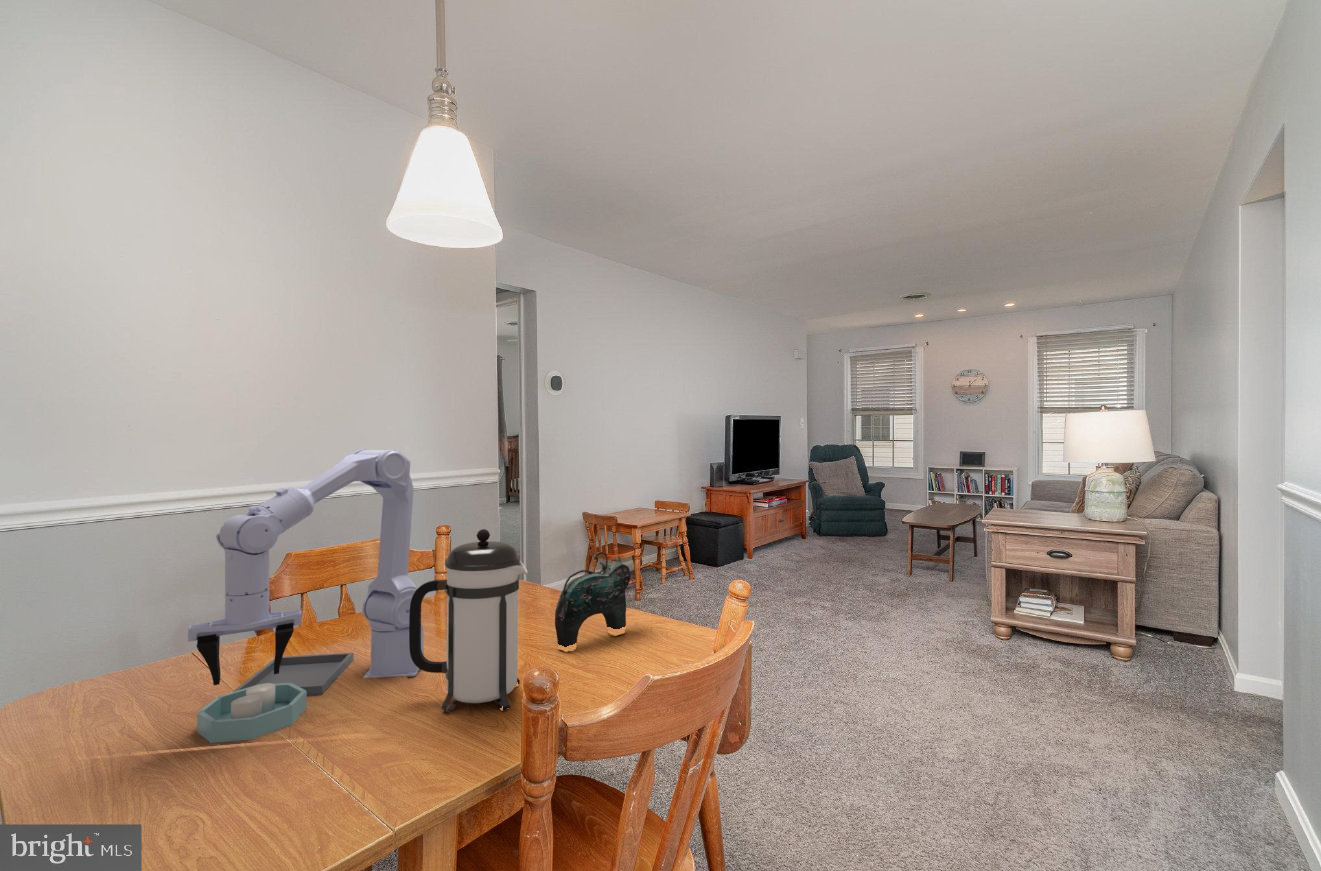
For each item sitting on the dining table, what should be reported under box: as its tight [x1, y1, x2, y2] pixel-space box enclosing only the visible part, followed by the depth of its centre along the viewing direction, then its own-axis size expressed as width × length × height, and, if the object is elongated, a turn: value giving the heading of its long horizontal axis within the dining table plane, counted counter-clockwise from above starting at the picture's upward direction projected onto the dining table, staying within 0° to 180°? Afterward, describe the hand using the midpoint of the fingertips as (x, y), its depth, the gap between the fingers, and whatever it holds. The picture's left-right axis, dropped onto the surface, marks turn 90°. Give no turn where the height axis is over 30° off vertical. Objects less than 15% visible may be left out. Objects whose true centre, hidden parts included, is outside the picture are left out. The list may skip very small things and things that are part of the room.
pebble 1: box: [231, 695, 262, 719], centre depth 92 cm, size 4×4×4 cm
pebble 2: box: [246, 683, 275, 714], centre depth 97 cm, size 4×4×4 cm
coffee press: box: [409, 528, 529, 714], centre depth 103 cm, size 17×16×30 cm
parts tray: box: [232, 652, 355, 696], centre depth 110 cm, size 14×16×2 cm
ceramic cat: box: [554, 551, 631, 647], centre depth 133 cm, size 20×6×20 cm, turn 136°
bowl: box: [196, 683, 308, 747], centre depth 94 cm, size 13×13×4 cm
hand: (247, 677), depth 92 cm, fingers open, 7 cm apart
